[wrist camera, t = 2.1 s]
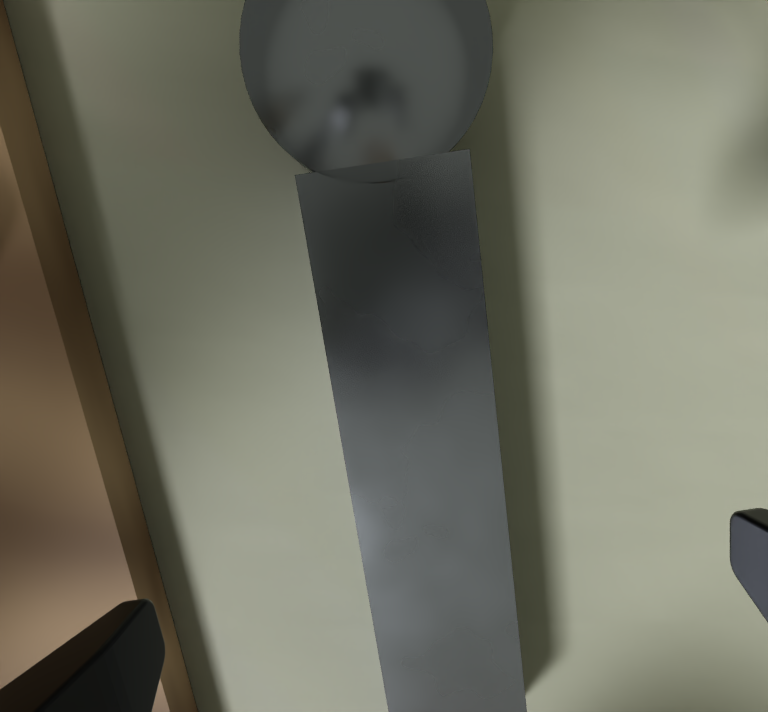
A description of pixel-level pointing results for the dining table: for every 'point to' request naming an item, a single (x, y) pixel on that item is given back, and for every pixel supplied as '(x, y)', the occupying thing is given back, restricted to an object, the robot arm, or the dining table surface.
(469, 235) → the grey ball-topped bar
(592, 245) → the dining table surface
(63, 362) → the tool rest
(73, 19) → the dining table surface
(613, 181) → the dining table surface
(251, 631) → the dining table surface
